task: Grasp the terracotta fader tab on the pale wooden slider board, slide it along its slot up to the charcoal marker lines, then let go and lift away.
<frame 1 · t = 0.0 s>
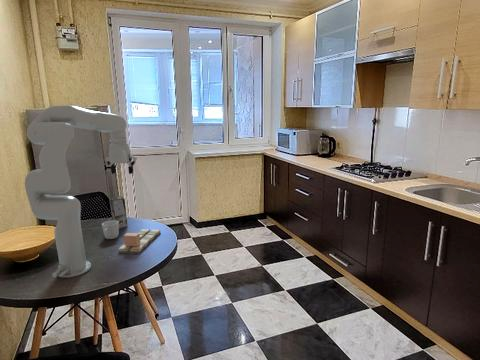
hand: (122, 173, 165), 31 cm above the table, fingers open, 9 cm apart
cup: (110, 238, 160), on the table
fader tab: (132, 240, 145), point 4 cm above the table, slide at 0.0 cm
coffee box: (120, 225, 178), on the table
slider board: (141, 242, 154), on the table
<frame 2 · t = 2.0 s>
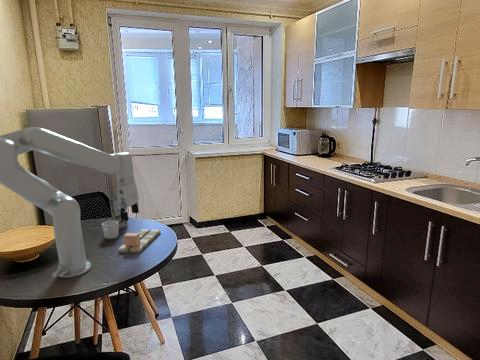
hand: (130, 216, 143), 16 cm above the table, fingers open, 9 cm apart
nothing on the table moved.
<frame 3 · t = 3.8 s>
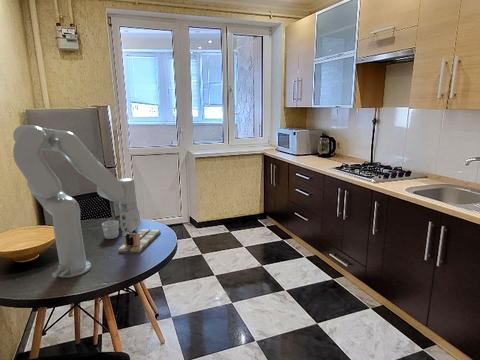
hand: (132, 242, 146), 3 cm above the table, fingers closed on fader tab, 3 cm apart
fader tab: (132, 240, 145), point 4 cm above the table, slide at 0.0 cm, touching gripper
everything else where it was.
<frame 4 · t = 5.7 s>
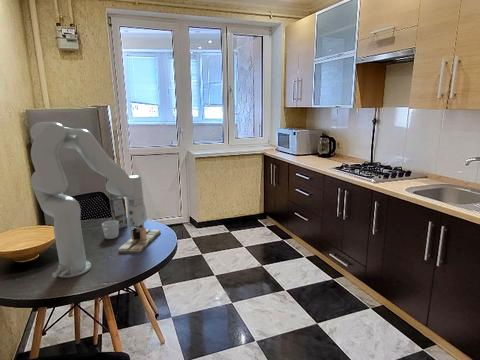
hand: (139, 237, 152), 3 cm above the table, fingers closed on fader tab, 3 cm apart
fader tab: (138, 235, 152), point 4 cm above the table, slide at 6.6 cm, touching gripper
everything else where it was.
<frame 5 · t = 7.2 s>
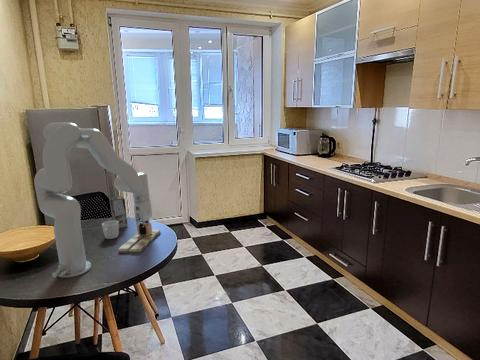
hand: (144, 232, 158), 3 cm above the table, fingers closed on fader tab, 3 cm apart
fader tab: (144, 230, 158), point 4 cm above the table, slide at 12.9 cm, touching gripper
everything else where it was.
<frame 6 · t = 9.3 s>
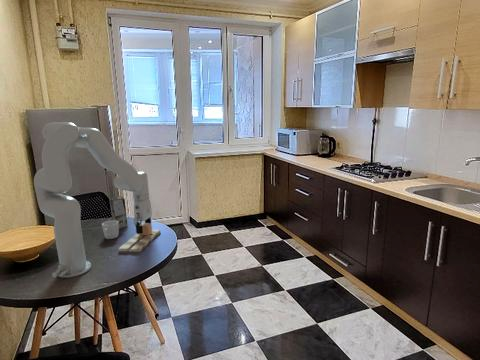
hand: (144, 229, 158), 5 cm above the table, fingers open, 9 cm apart
fader tab: (144, 230, 158), point 4 cm above the table, slide at 13.0 cm
everything else where it was.
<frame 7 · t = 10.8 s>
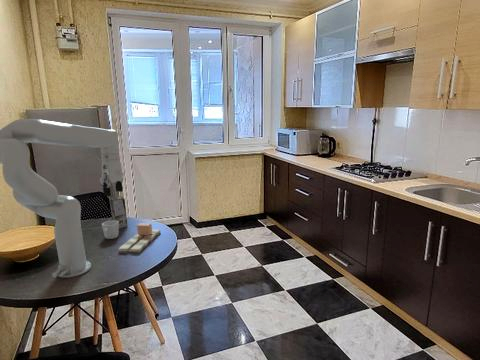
hand: (113, 193, 146), 26 cm above the table, fingers open, 9 cm apart
nothing on the table moved.
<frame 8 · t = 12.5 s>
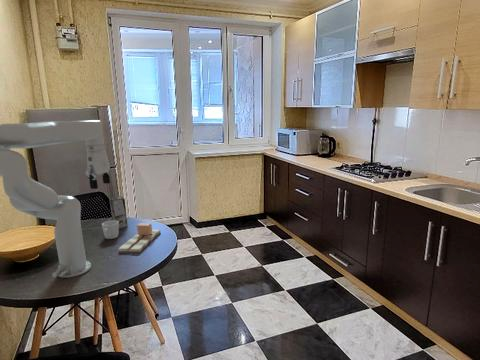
hand: (100, 185, 143), 30 cm above the table, fingers open, 9 cm apart
nothing on the table moved.
at the end: fader tab slide at 13.0 cm; the gripper is holding nothing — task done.
